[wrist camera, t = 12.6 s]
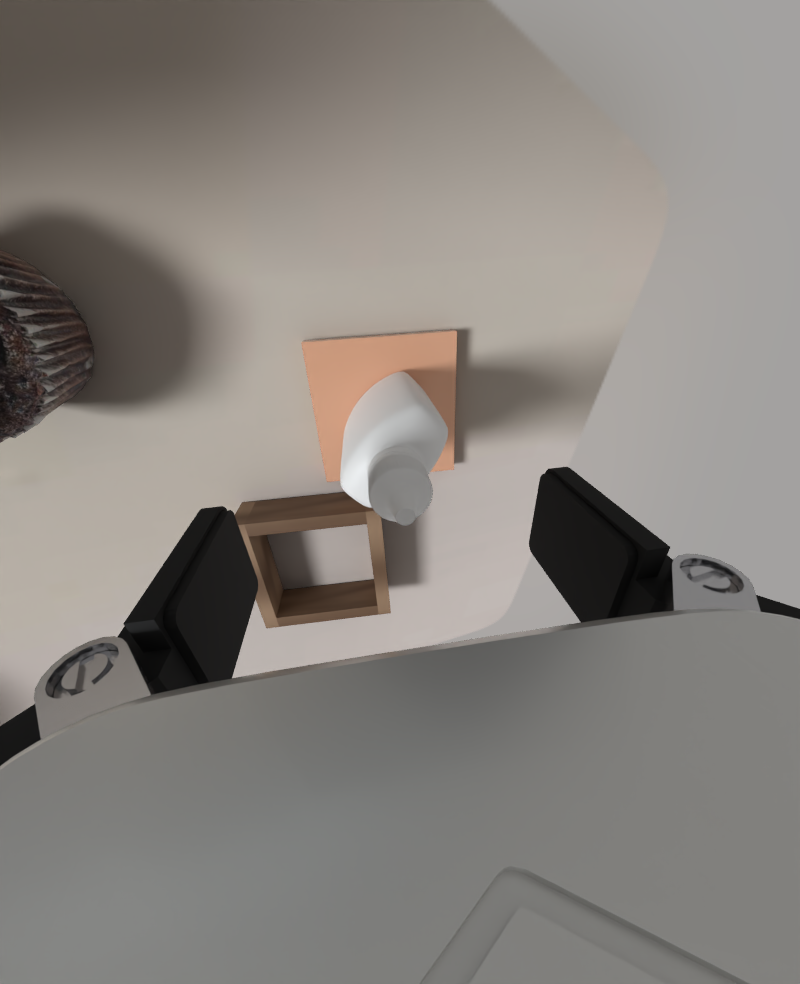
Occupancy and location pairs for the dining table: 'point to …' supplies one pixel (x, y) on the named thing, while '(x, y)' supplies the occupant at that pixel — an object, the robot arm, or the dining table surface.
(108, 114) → the dining table surface
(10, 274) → the cupcake
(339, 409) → the terracotta tile
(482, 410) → the dining table surface
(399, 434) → the eye dropper bottle
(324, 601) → the walnut holder
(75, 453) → the dining table surface
